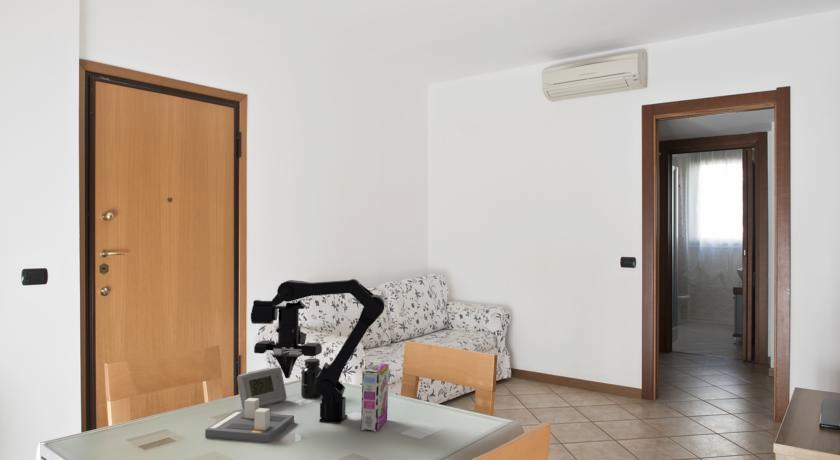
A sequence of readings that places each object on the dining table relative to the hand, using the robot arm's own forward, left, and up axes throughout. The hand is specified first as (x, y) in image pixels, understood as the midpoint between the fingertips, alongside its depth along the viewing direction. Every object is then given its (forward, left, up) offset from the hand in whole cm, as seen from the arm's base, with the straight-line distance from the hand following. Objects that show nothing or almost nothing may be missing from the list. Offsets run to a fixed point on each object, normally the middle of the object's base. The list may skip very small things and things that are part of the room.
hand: (287, 377), depth 164 cm
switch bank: (+6, +10, -12) cm, 17 cm away
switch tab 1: (+8, +6, -10) cm, 14 cm away
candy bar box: (-26, -1, -12) cm, 29 cm away
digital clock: (+13, -12, -12) cm, 22 cm away
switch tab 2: (+1, +14, -10) cm, 17 cm away
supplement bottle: (+2, -24, -12) cm, 27 cm away
